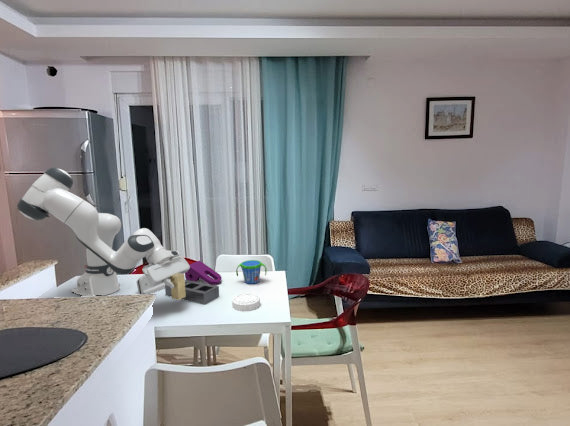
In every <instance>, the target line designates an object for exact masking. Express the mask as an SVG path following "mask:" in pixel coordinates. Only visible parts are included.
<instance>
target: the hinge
mask: <svg viewBox="0 0 570 426" xmlns="http://www.w3.org/2000/svg"><path fill="white" fill-rule="evenodd" d="M169 281H170V280H169ZM165 285H166V284H164V282H163V283H160V284H158V285H156V286H152V285H150V283H149V282H148V280H147V278H146V276H145V274H143V275H141V277H139V278H138V279H136V286H137V292H138V295H139V294H140V295H145V294H150V295H152V294H151V293H153V294H155V293H157V291H158V292H160V291H162V290H163V291H164V290H165Z"/></svg>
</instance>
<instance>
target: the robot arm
mask: <svg viewBox="0 0 570 426" xmlns="http://www.w3.org/2000/svg"><path fill="white" fill-rule="evenodd" d="M73 185H74V179H73V178H72V176H71V175H70V174H69V173H68V172H67V171H66V170H64V169H61V168H58V167H50V168H48V169H46V170H45V171H44V173H43V174H42V175H40V177H39V178H37V179H36V180H35V181H34V182H33V183H32V185H31V186H30V187H29V188H28V190H27V191H26V192H25V194H24V195H23V196H22V198H20V199H19V200H18V202H17V205H16V207H17V210H18V211H19V212H20V214H22V216H24V217H25V218H27V219H29V220H35V221H41V220H42V221H43V220H44V219H46V218H49V217H50V215H49V214H51V215H52V216H53V217H55V218H56V220H57V219H58V220H59V221H61V223H63V224H65V225H66V226H68V227H69V228H70V229H71V230H72V231H73V232H74V234H75V235H76V236H75V237H76V239H77V240H78V241H79V242H80V244H82V245H83V246H84V247H85V248H86V249H85V252H86V254H85V255H86V260H87V261H86V262H87V264H86V265H84V266H83V268H84V269H85V270H84V271H85V272H84V273H83V274H82V275H80V277H78V278H77V280H76V287H74V288H73V289H71V293H72V292H74V293H73V294H75V293H77V294H80V295H83V296H93V295H102V296H107V295H110V294H114V293H116V292H117V291H119V290H120V285H121V284H120V282H119V281H118V275H117V274H119V275H129V274H131V273H132V272H133V271H134V270H135V268H136V267H137V265H138V264H139V263H140V262H141V261H142V259H143V258H145V259H146V261H147V263H148V264H147V265H144V266H142V272H143V275H145V276H146V278H147V280H148V282H149V283H150V285H152V286H156V285H158V284H160V283H163V282H164V284H166V285H168V286H170V288H171V289H174V288H175V287H176V285H175V283H171V282H170V281H169V280H170V277H171V276H172V275H174V274H177V273H180V274H184V275H185V273H186V272H187V271H188V270H189V269H190V266H189V265H190V264H189V262H188V261H187V260H186V259H185V258H184V257H183V256H181V255H180V254H181V253H180V252H179V250H167V249H166V248H165V247H164V246H163V245H162V244H161V241H160V239H159V238H158V237H157V236H156V235H155V234H154V233H153V232H152V230H150V229H149V228H146V227H142V228H139V229H137V230H136V231H134V232H133V234H132V235H130V236H129V237H127V238H126V240H125V241H124V242H123V243H122V244H121V246H120V247H119V248H118V249H117V251H116V250H114V249H113V243H114V240H115V237H116V235H117V234H119V232H120V231H121V228H122V222H121V219H120V218H119V217H118V216H116V215H114V214H111V213H107V212H98V210H97V209H96V207H95V206H93V205H92V204H91V203H90V202H88V201H87V200H84V199H83V198H81V197H80V196H78V195H76V194H74V193H72V192H70V191H69V190H71V189H72V187H73ZM77 294H76V295H77ZM80 295H79V296H80ZM83 296H82V297H83Z"/></svg>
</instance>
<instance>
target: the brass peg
mask: <svg viewBox="0 0 570 426" xmlns="http://www.w3.org/2000/svg"><path fill="white" fill-rule="evenodd" d="M184 279H185V273H184V274H180V273H177V274H174V275H172V276H171V277H170V282H171V283H175V285H176V287H175V288H174V289H171V294H172V297H171V299H173V300H177V301H181V300H183V299H182V298H184V297H186V293H185V280H186V279H185V280H184Z"/></svg>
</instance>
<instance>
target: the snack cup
mask: <svg viewBox="0 0 570 426" xmlns="http://www.w3.org/2000/svg"><path fill="white" fill-rule="evenodd" d="M261 267H264V268H265V270H264V272H265V274H264V276H267V267H266V264H265V263H263V262H262V261H261V260H257V259H256V260H255V259H251V260H245V261H242V262H241V263H240V264H238V265H237V267H236V270H235V271H236V276H237V277H239V273H238V272H239V271H238V269H239V268H241V270H242V275H243V280H244V281H243V282H244V283H246V284H249V285H252V284H257V283H259V282H260V278H261V277H260V275H261Z"/></svg>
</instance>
